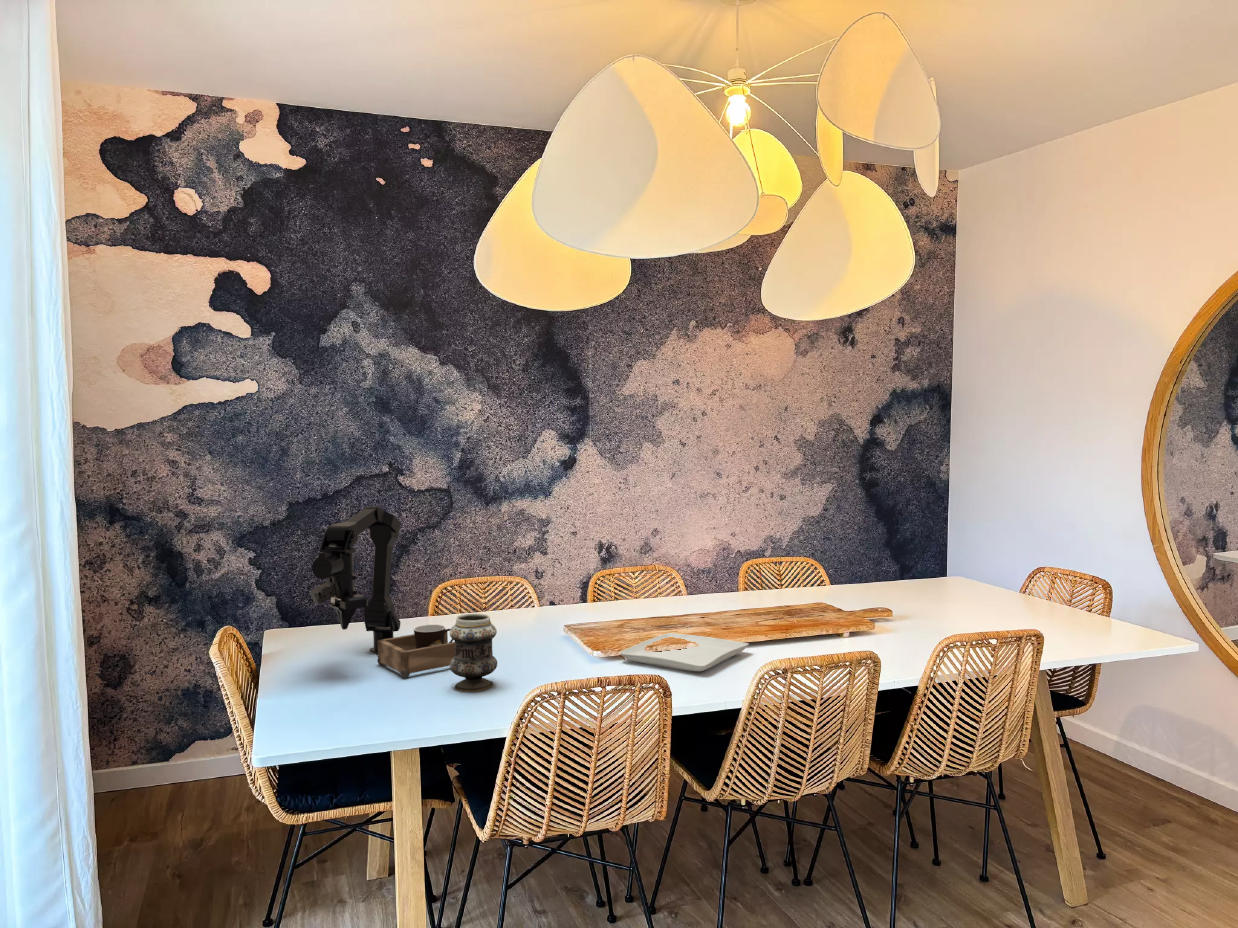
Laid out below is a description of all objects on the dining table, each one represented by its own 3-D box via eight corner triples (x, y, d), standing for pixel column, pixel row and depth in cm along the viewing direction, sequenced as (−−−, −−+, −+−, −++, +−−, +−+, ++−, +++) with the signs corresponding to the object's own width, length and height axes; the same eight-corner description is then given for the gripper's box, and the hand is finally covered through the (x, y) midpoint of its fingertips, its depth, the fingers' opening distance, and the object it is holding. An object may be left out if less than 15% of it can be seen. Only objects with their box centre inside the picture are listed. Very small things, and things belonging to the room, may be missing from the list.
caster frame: (376, 664, 256) (375, 640, 255) (446, 651, 268) (445, 628, 268) (403, 679, 241) (402, 653, 241) (475, 664, 254) (475, 639, 254)
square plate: (750, 655, 261) (750, 641, 261) (703, 679, 239) (703, 664, 239) (668, 642, 277) (668, 629, 276) (617, 664, 254) (617, 650, 254)
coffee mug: (415, 669, 251) (414, 633, 250) (413, 660, 259) (412, 625, 259) (458, 665, 254) (457, 629, 254) (455, 657, 262) (454, 622, 262)
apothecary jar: (507, 685, 235) (506, 616, 234) (468, 696, 226) (466, 624, 225) (479, 676, 243) (477, 609, 242) (440, 686, 235) (438, 616, 234)
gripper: (299, 571, 250) (302, 627, 251) (326, 580, 235) (328, 641, 236) (339, 565, 257) (341, 621, 258) (367, 575, 242) (369, 633, 243)
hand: (344, 629), depth 249 cm, fingers closed
